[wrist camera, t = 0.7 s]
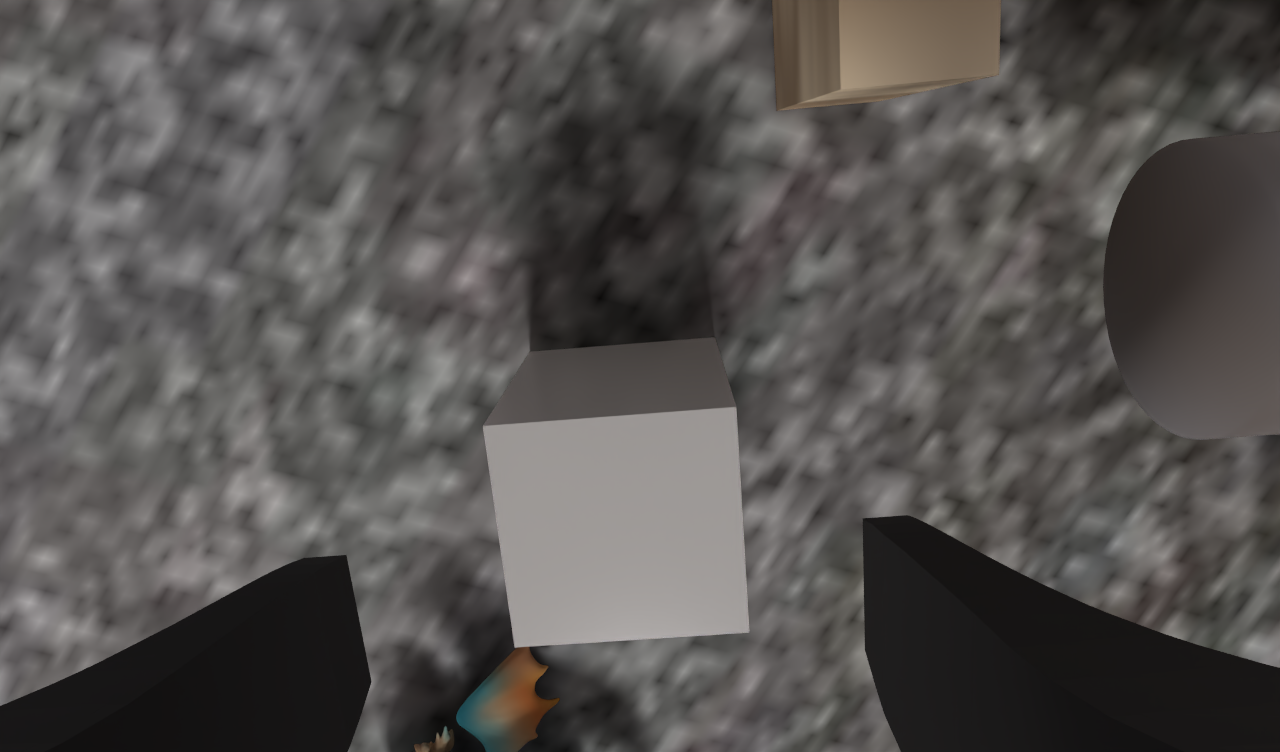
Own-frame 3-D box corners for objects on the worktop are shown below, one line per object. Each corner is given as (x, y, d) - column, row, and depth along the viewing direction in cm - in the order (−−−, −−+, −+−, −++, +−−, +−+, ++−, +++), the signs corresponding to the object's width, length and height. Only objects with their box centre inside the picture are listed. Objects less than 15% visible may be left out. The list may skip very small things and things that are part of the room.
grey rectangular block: (715, 336, 18) (736, 407, 13) (725, 508, 19) (749, 632, 14) (529, 351, 18) (483, 425, 13) (551, 520, 19) (514, 647, 14)
